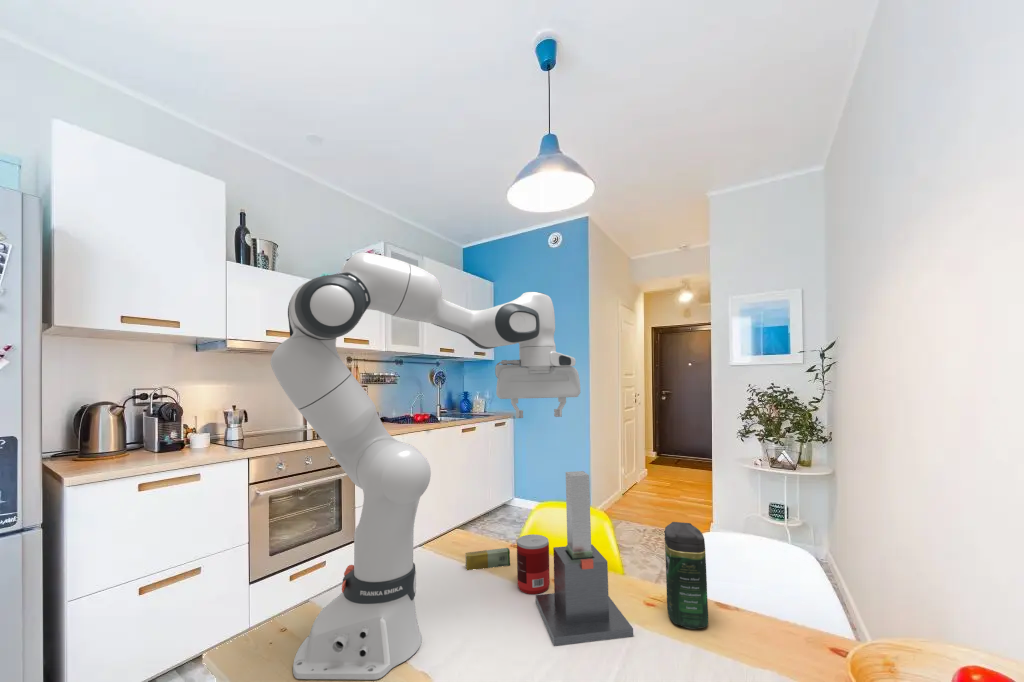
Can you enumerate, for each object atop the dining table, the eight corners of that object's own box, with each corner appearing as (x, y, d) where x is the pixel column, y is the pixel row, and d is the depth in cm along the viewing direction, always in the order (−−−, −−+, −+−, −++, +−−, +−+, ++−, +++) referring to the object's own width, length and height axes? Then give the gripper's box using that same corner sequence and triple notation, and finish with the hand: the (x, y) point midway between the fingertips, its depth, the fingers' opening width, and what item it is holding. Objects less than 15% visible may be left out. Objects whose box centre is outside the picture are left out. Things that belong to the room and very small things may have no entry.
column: (573, 585, 88) (570, 476, 90) (567, 575, 92) (564, 471, 94) (593, 583, 89) (590, 475, 91) (586, 573, 93) (583, 470, 95)
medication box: (508, 562, 118) (508, 547, 118) (510, 566, 115) (510, 550, 116) (465, 567, 115) (465, 551, 116) (466, 571, 113) (466, 555, 113)
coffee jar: (713, 633, 84) (708, 536, 86) (670, 628, 86) (666, 533, 87) (703, 607, 93) (699, 520, 95) (665, 603, 95) (661, 517, 97)
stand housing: (553, 645, 81) (552, 570, 82) (535, 602, 97) (534, 539, 98) (633, 636, 83) (630, 563, 85) (603, 595, 99) (601, 533, 100)
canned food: (555, 583, 105) (554, 537, 106) (539, 598, 98) (538, 548, 99) (528, 576, 109) (527, 532, 110) (511, 589, 102) (510, 542, 103)
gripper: (496, 359, 99) (497, 420, 97) (581, 358, 102) (583, 417, 101) (493, 360, 105) (494, 417, 104) (573, 359, 108) (575, 414, 107)
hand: (538, 417), depth 102 cm, fingers open, 8 cm apart
